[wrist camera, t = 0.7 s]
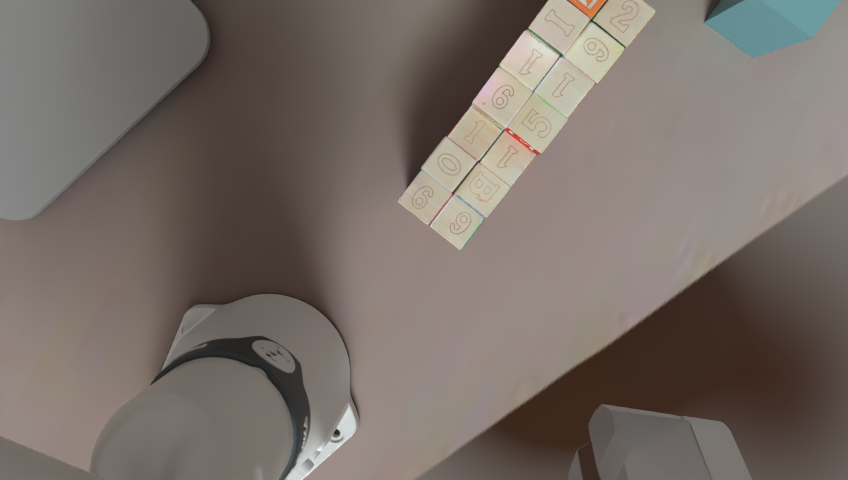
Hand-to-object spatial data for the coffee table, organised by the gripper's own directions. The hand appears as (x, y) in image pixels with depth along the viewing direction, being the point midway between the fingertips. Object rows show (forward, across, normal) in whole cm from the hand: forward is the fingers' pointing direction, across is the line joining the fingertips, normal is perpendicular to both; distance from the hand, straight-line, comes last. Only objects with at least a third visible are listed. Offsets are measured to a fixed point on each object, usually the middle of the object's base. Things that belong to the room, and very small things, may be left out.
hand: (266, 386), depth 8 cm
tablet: (+53, -29, -20) cm, 63 cm away
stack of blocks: (+50, +10, -15) cm, 53 cm away
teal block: (+53, +28, -4) cm, 60 cm away
